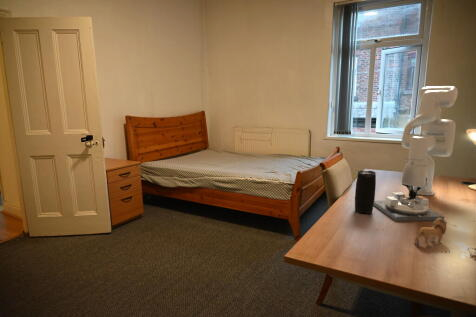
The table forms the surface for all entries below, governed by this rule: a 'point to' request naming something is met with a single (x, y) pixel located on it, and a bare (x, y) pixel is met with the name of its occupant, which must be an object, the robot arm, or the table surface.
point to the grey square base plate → (407, 217)
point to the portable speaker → (365, 191)
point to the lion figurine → (432, 232)
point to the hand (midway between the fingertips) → (412, 198)
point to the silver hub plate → (407, 204)
